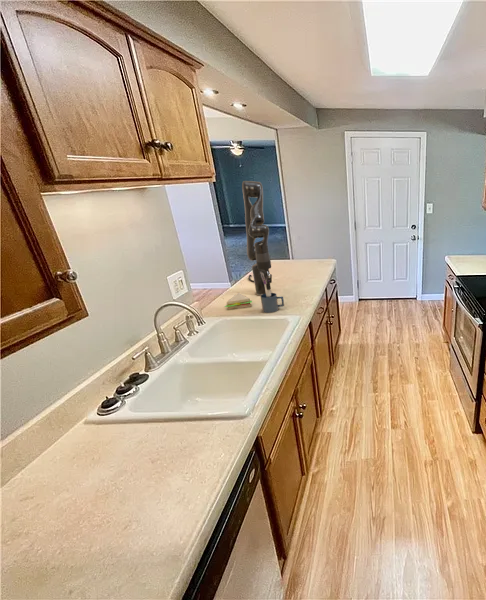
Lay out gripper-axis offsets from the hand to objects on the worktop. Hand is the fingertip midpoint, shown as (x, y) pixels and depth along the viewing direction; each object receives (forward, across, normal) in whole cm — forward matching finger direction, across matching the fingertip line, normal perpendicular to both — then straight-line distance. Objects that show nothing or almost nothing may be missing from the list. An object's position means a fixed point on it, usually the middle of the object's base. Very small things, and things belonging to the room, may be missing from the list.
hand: (267, 288), depth 195 cm
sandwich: (+14, +23, +10) cm, 29 cm away
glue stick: (+5, 0, 0) cm, 5 cm away
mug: (+14, -1, -2) cm, 14 cm away
